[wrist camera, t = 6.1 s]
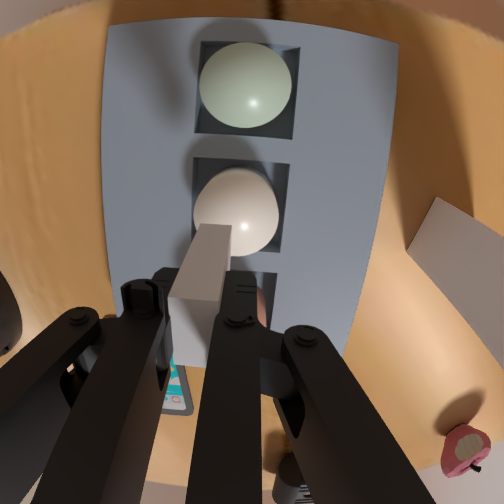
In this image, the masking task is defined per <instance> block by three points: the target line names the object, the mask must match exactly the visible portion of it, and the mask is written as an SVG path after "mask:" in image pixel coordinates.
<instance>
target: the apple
mask: <svg viewBox="0 0 504 504" xmlns="http://www.w3.org/2000/svg"><path fill="white" fill-rule="evenodd" d="M490 450H491V441H490V439H489V437H488V436H487V435H486V433H484V432H482V431H480V430H477V429H475V428H473V427H471V426H469V425H466V424H462V425H460V426H457V427H455V428H454V429H453V430H452V431H450V432H449V433H448V434H447V436H446V439H445V443H444V448H443V452H442V456H441V468H442V471H443V474H445V476H447V477H448V478H450V477H455V476H459V475H462V474H464V473H465V472H466V471H468V470H469V469H473V470H474V471H476V472H480V471H481V467H479V466H476V465H477V464H478V463H479V462H480V461H481V460H483V459H484V458H485V457H487V455H488V454H489V452H490Z"/></svg>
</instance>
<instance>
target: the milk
mask: <svg viewBox="0 0 504 504" xmlns="http://www.w3.org/2000/svg"><path fill="white" fill-rule="evenodd" d="M406 252H407V254H408V255H409V256H410V257H411V258H412V259H413V260H414V261H415V262H416V263H417V265H418V266H419V267H420V268H421V269H422V270H423V271H424V272H425V273H426V274H427V276H428V277H429V278H430V279H431V280H432V281H433V282H434V283H435V285H436V286H437V287H438V288H439V289H440V290H441V291H442V293H443V294H444V295H445V296H446V297H447V298H448V300H449V301H450V302H451V303H452V304H453V306H454V307H455V308H456V309H457V310H458V312H459V313H460V314H461V315H462V317H463V318H464V319H465V320H466V322H467V323H468V324H469V325H470V327H471V328H472V329H473V330H474V332H475V333H476V334H477V335H478V337H479V338H480V339H481V341H482V342H483V343H484V345H485V346H486V347H487V349H488V350H489V351H490V353H491V354H492V355H493V357H494V358H495V359H496V361H497V362H498V364H499V365H500V366H501V368H502V369H503V371H504V237H503V236H501V235H500V234H498V233H497V232H495V231H493V230H492V229H490V228H489V227H487V226H486V225H484V224H483V223H481V222H479V221H478V220H476V219H475V218H473V217H471V216H470V215H468V214H466V213H465V212H463V211H461V210H460V209H458V208H456V207H454V206H453V205H451V204H449V203H448V202H446V201H444V200H442V199H440V198H439V197H436V198H435V200H434V202H433V204H432V206H431V207H430V209H429V211H428V213H427V215H426V217H425V219H424V221H423V223H422V224H421V226H420V228H419V230H418V232H417V233H416V235H415V237H414V239H413V241H412V242H411V244H410V246H409V248H408V249H407V251H406Z"/></svg>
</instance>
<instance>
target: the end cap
mask: <svg viewBox="0 0 504 504" xmlns="http://www.w3.org/2000/svg"><path fill="white" fill-rule="evenodd" d="M306 493H309V490H308V487H307V485H306V482H305V480H304V478H303V475H302V473H301V470H300V468H299V465H298V463H297V460H296V458H295V455H294V453H292V454H290V455H288V456H287V457H285V458H284V459H283V460H282V461H281V462H280V464H279V466H278V469H277V473H276V478H275V482H274V486H273V490H272V497H273V499H274V501H275V502H276V503H277V504H304V503H314V502H313V499H312V497H311V495H304V494H306Z"/></svg>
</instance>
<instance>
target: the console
mask: <svg viewBox="0 0 504 504" xmlns="http://www.w3.org/2000/svg"><path fill="white" fill-rule="evenodd" d="M241 42H250V43H257V44H261V45H263V46H266V47H268V48H270V49H271V50H273V51H274V52H276V53H277V54H278V55H279V56H280V57H281V58H282V59H283V61H284V62H285V64H286V65H287V67H288V70H289V72H290V76H291V94H290V97H289V100H288V102H287V104H286V106H285V107H284V109H283V110H282V111H281V113H280V114H279V115H277V116H276V117H275V118H274V119H272V120H271V121H269V122H267V123H265V124H263V125H260V126H256V127H251V128H239V127H234V126H230V125H227V124H225V123H223V122H221V121H219V120H218V119H216V118H215V117H214V116H213V115H212V114H211V113H210V112H209V111H208V110H207V108H206V107H205V105H204V103H203V101H202V98H201V95H200V89H199V82H200V76H201V73H202V70H203V68H204V66H205V64H206V63H207V61H208V60H209V59H210V57H211V56H212V55H214V54H215V53H216V52H217V51H219V50H220V49H222V48H224V47H226V46H228V45H231V44H235V43H241ZM398 60H399V44H398V43H395V42H391V41H388V40H384V39H380V38H377V37H373V36H369V35H364V34H360V33H356V32H351V31H346V30H341V29H336V28H331V27H325V26H319V25H312V24H305V23H298V22H290V21H280V20H270V19H256V18H235V17H194V18H173V19H159V20H149V21H140V22H132V23H124V24H118V25H111V26H109V29H108V37H107V45H106V55H105V65H104V78H103V94H102V119H101V166H102V192H103V208H104V222H105V233H106V243H107V253H108V261H109V269H110V276H111V284H112V290H113V297H114V303H115V309H116V315H117V317H120V316H121V314H122V312H123V311H124V309H123V303H122V296H121V289H120V287H121V286H122V285H123V284H124V283H126V282H129V281H131V280H135V279H152V277H153V275H154V273H155V272H156V271H158V270H159V269H161V268H162V267H170V268H180V267H181V265H182V263H183V261H184V258H185V256H186V254H187V252H188V249H189V247H190V245H191V243H192V241H193V239H194V236H195V234H196V232H197V230H196V227H195V224H194V216H193V213H194V206H195V203H196V200H197V198H198V196H199V194H200V193H201V191H202V190H203V189H204V187H205V186H206V185H207V183H208V182H209V181H210V179H211V178H212V177H213V176H214V175H215V174H216V173H217V172H218V171H220V170H222V169H224V168H226V167H229V166H233V165H245V166H249V167H252V168H255V169H257V170H259V171H260V172H261V173H263V174H264V175H265V176H266V177H267V178H268V180H269V181H270V182H271V184H272V186H273V189H274V192H275V197H276V202H277V207H278V213H279V221H278V226H277V229H276V232H275V234H274V236H273V237H272V239H271V240H270V241H269V243H268V244H267V245H266V246H264V247H263V248H262V249H260V250H259V251H257V252H255V253H252V254H249V255H245V256H231V258H230V271H240V272H252V274H253V275H254V276H255V277H256V279H257V285H258V287H259V288H260V289H261V291H262V292H263V294H264V297H265V303H266V328H268V329H270V330H273V331H275V332H279V333H283V334H284V332H285V330H287V329H288V328H290V327H291V326H295V325H309V326H314V327H316V328H318V329H320V330H322V331H323V332H324V333H325V334H326V335H327V336H328V338H329V339H330V341H331V342H332V344H333V345H334V347H335V348H336V350H337V351H338V353H339V354H340V356H341V357H342V355H343V352H344V349H345V346H346V343H347V339H348V336H349V333H350V330H351V326H352V323H353V319H354V316H355V312H356V309H357V305H358V302H359V298H360V294H361V290H362V287H363V283H364V279H365V275H366V271H367V267H368V262H369V258H370V254H371V250H372V245H373V241H374V236H375V231H376V227H377V222H378V217H379V212H380V206H381V201H382V196H383V190H384V184H385V178H386V172H387V166H388V159H389V152H390V145H391V137H392V129H393V120H394V111H395V101H396V90H397V76H398Z"/></svg>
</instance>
